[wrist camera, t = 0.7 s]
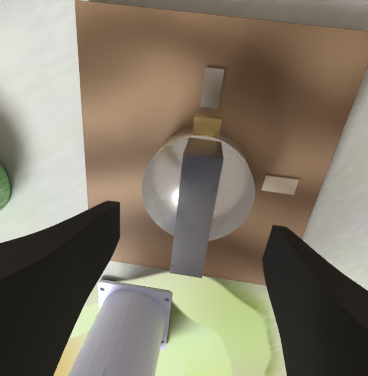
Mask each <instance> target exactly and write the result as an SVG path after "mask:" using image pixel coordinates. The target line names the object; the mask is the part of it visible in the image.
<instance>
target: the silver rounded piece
mask: <svg viewBox="0 0 368 376" xmlns="http://www.w3.org/2000/svg"><path fill="white" fill-rule="evenodd" d="M221 121H222V119H221V117H219V116H211V115H203V114H195V117H194V125H193V128H190V129H186V130H183V131H180V132H178V133H176V134H174V135H173V136H171V137H170V138H169V139H168V140H167V141H166V142H165V143H164V144H163V145H162V146H161V148H160V149H159V151H158V152H157V153H156V155H155V156H154V157H153V159H152V160H151V162H150V163H149V165H148V166H147V168H146V171H145V173H144V176H143V180H142V197H143V202H144V205H145V207H146V210H147V212H148V213H149V215H150V217H151V218H152V219H153V220H154V222H155V223H156V224H157V225H158V226H159V227H160V228H162V229H163V230H164V231H166V232H168V233H169V234H171V235H173V236H174V240H173V249H172V259H171V268H170V273H174V274H180V275H187V276H194V277H199V278H202V273H203V268H204V262H205V257H206V252H207V246H208V241H211V240H215V239H219V238H222V237H224V236H226V235H228V234H230V233H232V232H233V231H235V230H236V229H237V228H238V227H239V226H241V224H242V223H243V222H244V221H245V220H246V218H247V217H248V215H249V213H250V211H251V209H252V207H253V204H254V198H255V185H254V180H253V176H252V174H251V171H250V169H249V166H248V164H247V161H246V159H245V157H244V154H243V152H242V150H241V149H240V147H239V146H238V145H237V144H236V142H235V141H234V140H232V139H231V138H230V137H229V136H227V135H226V134H224V133H222V132H220V127H221Z"/></svg>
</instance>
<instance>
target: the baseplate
mask: <svg viewBox="0 0 368 376" xmlns="http://www.w3.org/2000/svg"><path fill="white" fill-rule="evenodd" d="M75 11H76V27H77V42H78V57H79V72H80V88H81V103H82V118H83V133H84V149H85V164H86V179H87V194H88V209H90V208H92V207H94V206H96V205H98V204H100V203H102V202H105V201H107V200H109V201H116V202H120V239H119V242H118V244H117V247H116V249H115V251H114V254H113V256H112V258H111V259H110V261H116V262H123V263H129V264H135V265H141V266H148V267H154V268H160V269H167V270H170V268H171V259H172V249H173V240H174V236H173V235H171V234H169V233H168V232H166V231H164V230H163V229H162V228H160V227H159V226H158V225H157V224H156V223H155V222H154V220H153V219H152V218H151V217H150V215H149V213H148V212H147V210H146V207H145V205H144V202H143V197H142V180H143V176H144V173H145V171H146V168H147V166H148V165H149V163H150V162H151V160H152V159H153V157H154V156H155V155H156V153H157V152H158V151H159V149H160V148H161V146H162V145H163V144H164V143H165V142H166V141H167V140H168V139H169V138H170V137H171V136H173V135H174V134H176V133H178V132H180V131H183V130H186V129H190V128H193V125H194V117H195V114H203V115H211V116H219V117H221V119H222V121H221V127H220V132H222V133H224V134H226V135H227V136H229V137H230V138H231V139H232V140H234V141H235V142H236V144H237V145H238V146H239V147H240V149H241V150H242V152H243V154H244V157H245V159H246V161H247V164H248V166H249V169H250V171H251V174H252V176H253V180H254V185H255V198H254V204H253V207H252V209H251V211H250V213H249V215H248V217H247V218H246V220H245V221H244V222H243V223H242V224H241V226H239V227H238V228H237V229H236V230H235V231H233V232H232V233H230V234H228V235H226V236H224V237H222V238H219V239H215V240H211V241H208V246H207V252H206V257H205V262H204V268H203V273H202V275H204V276H210V277H217V278H223V279H229V280H235V281H242V282H248V283H254V284H260V285H266V283H265V278H264V272H263V264H262V258H263V255H264V251H265V248H266V245H267V242H268V239H269V236H270V232H271V229H272V226H273V225H278V226H285V227H287V228H289V229H290V230H291V231H292V232H294V233H295V234H296V235H297V236H298V237H299V238H301V239H302V236H303V233H304V231H305V228H306V225H307V223H308V220H309V218H310V215H311V212H312V210H313V207H314V204H315V202H316V199H317V197H318V194H319V191H320V189H321V186H322V183H323V181H324V178H325V176H326V173H327V170H328V168H329V165H330V162H331V160H332V157H333V155H334V152H335V149H336V147H337V144H338V141H339V139H340V136H341V134H342V131H343V128H344V126H345V123H346V120H347V118H348V115H349V113H350V110H351V107H352V105H353V102H354V100H355V97H356V94H357V92H358V89H359V86H360V84H361V81H362V79H363V76H364V73H365V71H366V68H367V65H368V31H360V30H351V29H341V28H332V27H323V26H313V25H304V24H295V23H285V22H276V21H267V20H257V19H248V18H239V17H230V16H220V15H211V14H202V13H192V12H183V11H174V10H164V9H155V8H146V7H136V6H127V5H118V4H108V3H99V2H90V1H80V0H75Z"/></svg>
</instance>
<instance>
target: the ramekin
mask: <svg viewBox="0 0 368 376" xmlns="http://www.w3.org/2000/svg"><path fill="white" fill-rule="evenodd" d="M9 196H10V184H9V179H8V176H7V174H6V172H5V170H4V168H3V166H2V165H1V163H0V210H2V209H3V208H4V207H5V205H6V204H7V202H8V200H9Z"/></svg>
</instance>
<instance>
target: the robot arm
mask: <svg viewBox="0 0 368 376" xmlns="http://www.w3.org/2000/svg"><path fill="white" fill-rule="evenodd" d="M119 239H120V202H116V201H109V200H107V201H105V202H102V203H100V204H98V205H96V206H94V207H92V208H90V209H88V210H86V211H84V212H82V213H80V214H78V215H76V216H74V217H72V218H70V219H67V220H65V221H63V222H61V223H59V224H56V225H54V226H52V227H49V228H47V229H44V230H41V231H39V232H36V233H33V234H30V235H27V236H24V237H20V238H17V239H13V240H10V241H6V242H3V243H0V376H53V375H54V373H55V370H56V368H57V365H58V363H59V361H60V358H61V356H62V353H63V351H64V349H65V346H66V344H67V342H68V339H69V337H70V335H71V333H72V330H73V328H74V326H75V324H76V321H77V319H78V317H79V315H80V313H81V311H82V308H83V306H84V304H85V302H86V300H87V298H88V297H89V295H90V293H91V291H92V290H93V288H94V286H95V285H96V283H97V281H98V280H99V278H100V276H101V275H102V273H103V271H104V270H105V268H106V266H107V264H108V263H109V261H110V259H111V258H112V256H113V254H114V251H115V249H116V247H117V244H118V242H119ZM262 264H263V272H264V278H265V283H266V286H267V290H268V294H269V297H270V301H271V304H272V308H273V311H274V315H275V318H276V322H277V325H278V329H279V334H280V338H281V343H282V349H283V355H284V360H285V367H286V373H287V376H368V291H367V290H366V289H364V288H363V287H361V286H360V285H358V284H357V283H356V282H354V281H353V280H351V279H350V278H348V277H347V276H346V275H344V274H343V273H341V272H340V271H339V270H338V269H336V268H335V267H334V266H332V265H331V264H330V263H329V262H327V261H326V260H325V259H324V258H323V257H321V256H320V255H319V254H318V253H317V252H315V251H314V250H313V249H312V248H311V247H310V246H309V245H307V244H306V243H305V242H304V241H303V240H302V239H301V238H299V237H298V236H297V235H296V234H295V233H294V232H292V231H291V230H290V229H289V228H287V227H285V226H278V225H273V226H272V229H271V232H270V236H269V239H268V242H267V245H266V248H265V251H264V255H263V258H262ZM98 297H99V312H98V314H97V317H96V319H95V321H94V323H93V325H92V327H91V329H90V331H89V333H88V335H87V337H86V339H85V342H84V344H83V346H82V348H81V350H80V352H79V354H78V356H77V358H76V361H75V362H74V364H73V367H72V368H71V371H70V373H69V375H68V376H155V372H156V366H157V361H158V356H159V351H160V350H164V349H165V348H166V343H167V335H168V327H169V318H170V310H171V302H172V292H171V291H169V290H163V289H157V288H151V287H145V286H138V285H132V284H126V283H120V282H114V281H108V280H100V281H99V283H98ZM167 298H168V299H167Z"/></svg>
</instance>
